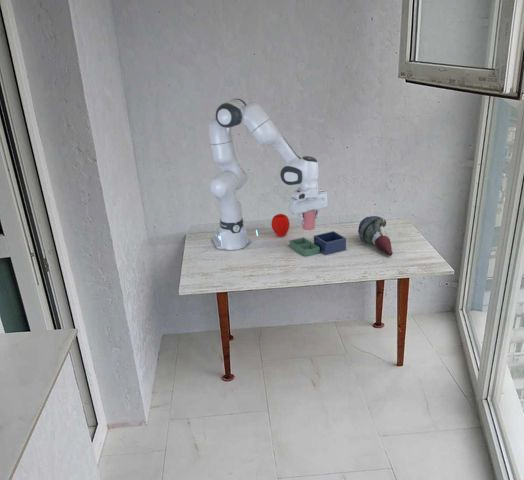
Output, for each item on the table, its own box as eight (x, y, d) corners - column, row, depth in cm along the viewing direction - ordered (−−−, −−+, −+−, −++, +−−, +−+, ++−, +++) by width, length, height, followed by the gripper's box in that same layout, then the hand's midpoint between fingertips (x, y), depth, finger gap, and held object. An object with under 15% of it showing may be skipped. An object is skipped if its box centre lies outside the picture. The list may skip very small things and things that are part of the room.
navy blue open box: (313, 247, 293) (313, 235, 289) (333, 242, 297) (333, 231, 293) (325, 254, 283) (325, 243, 280) (345, 250, 287) (346, 238, 284)
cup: (300, 227, 282) (300, 208, 277) (310, 225, 284) (311, 206, 279) (306, 231, 277) (306, 212, 272) (317, 228, 280) (317, 210, 275)
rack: (289, 245, 295) (289, 240, 294) (303, 242, 298) (303, 237, 297) (305, 256, 283) (305, 250, 281) (319, 252, 286) (319, 247, 284)
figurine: (380, 276, 293) (405, 262, 285) (364, 266, 281) (390, 252, 272) (366, 230, 304) (390, 216, 296) (350, 219, 292) (374, 204, 284)
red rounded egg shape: (272, 232, 313) (271, 211, 307) (289, 232, 312) (289, 210, 306) (271, 239, 305) (270, 217, 298) (289, 238, 304) (289, 216, 297)
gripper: (324, 186, 277) (323, 213, 284) (287, 193, 270) (287, 221, 277) (331, 189, 272) (330, 217, 280) (293, 196, 265) (294, 225, 272)
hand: (308, 219), depth 278 cm, fingers closed on cup, 6 cm apart
